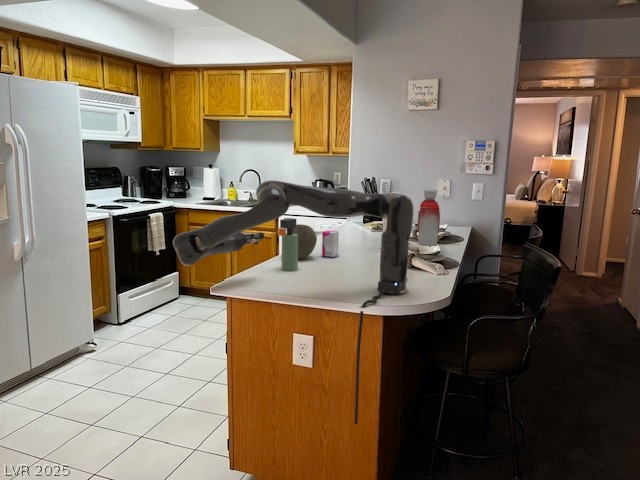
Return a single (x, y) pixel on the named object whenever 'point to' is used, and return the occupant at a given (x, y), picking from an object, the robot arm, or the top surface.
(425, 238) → the bottle
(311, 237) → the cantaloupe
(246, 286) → the top surface
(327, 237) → the supplement box
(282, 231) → the trigger
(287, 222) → the spray bottle
